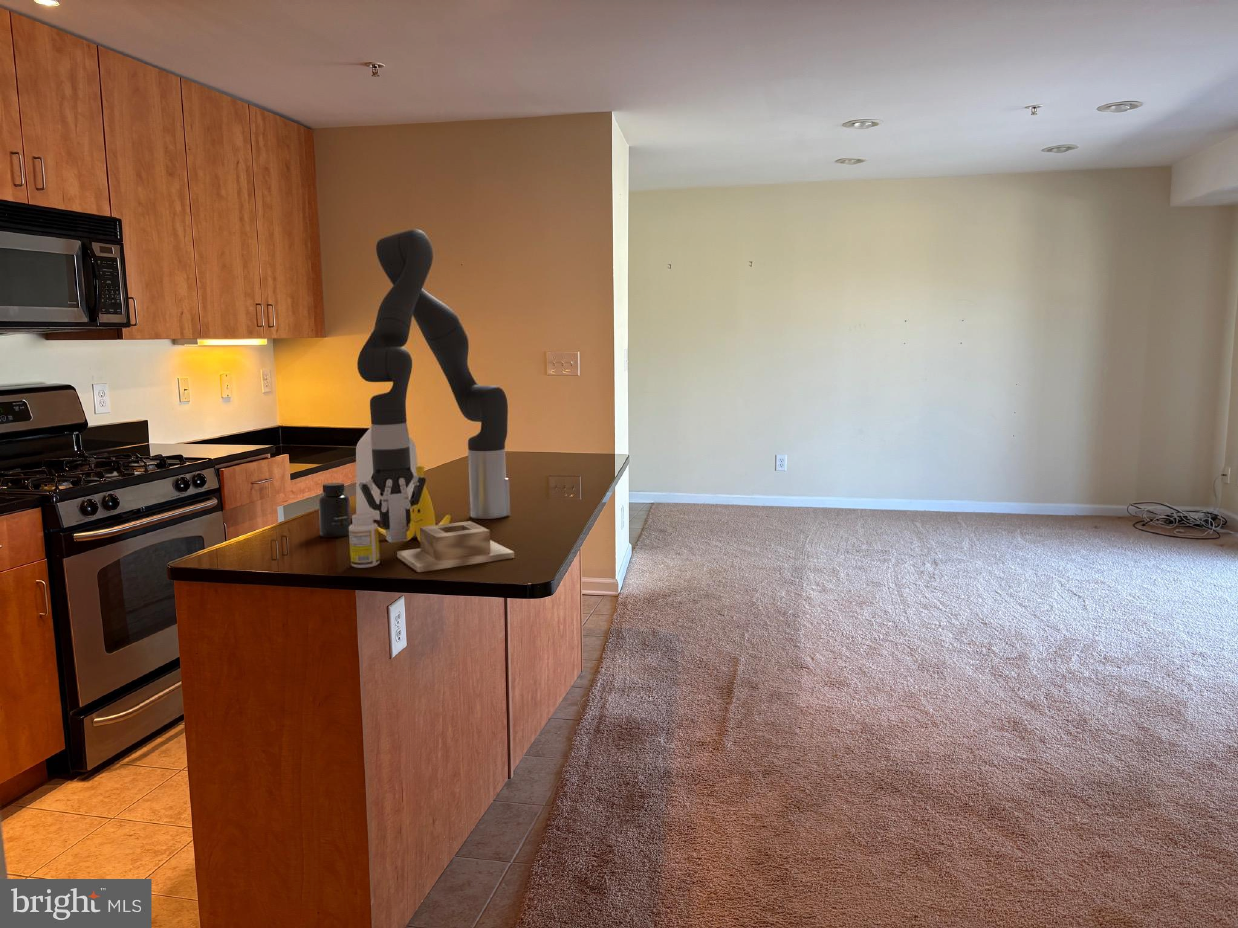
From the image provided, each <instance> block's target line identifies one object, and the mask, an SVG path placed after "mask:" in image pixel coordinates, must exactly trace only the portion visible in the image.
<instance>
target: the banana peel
mask: <svg viewBox="0 0 1238 928" xmlns="http://www.w3.org/2000/svg"><path fill="white" fill-rule="evenodd" d="M416 472H417V476H421V477H424V476H425V475H424V474H425V466H424V465H418V466H417V467H416ZM424 478H425V477H424ZM410 513H411V523H410V524H409V529H408V531H407V540H406V541H405V542H408V541H409V540H411V539H412V538H413V537H414V535H416V537H417V541H418V542H419V543H420V527H426V526H434V525H436V517H435V515H436V514H435V511H434V507H433V503H432V499H431V497H430V494H429V492H428V489H427V487H426V484H425V485H424V488H423V491H422V495H421V498H420V501H419V504H418V505H414V506H412V507H411V511H410ZM451 518H452V516H451V515H450V514H447V515H445V516H444V517H443V519H442V520H441V521H440V522H439V523H438V524H437V525H443V524H450V521H451ZM378 533H380V534H382V535H383V536H385V537H386V530H385V529H384V528H381V527H379V526H378Z"/></svg>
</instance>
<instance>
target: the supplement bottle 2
mask: <svg viewBox="0 0 1238 928" xmlns="http://www.w3.org/2000/svg"><path fill="white" fill-rule="evenodd" d="M351 521H352V523H351V525H350V526H349V535H348V537H349V539H348V540H349V553H350V554H349V555H350V565H351V566H352V567H354V568H357V569H365V568H372V567H376V566H378V564H380V562H381V561H380V560H381V558H380V557H381V554H380V543H379V541H380V539H379V531H378V527H379V525H378V524H377V523H376V522H374V519H373V514H371V513H358V514H356V513H355V514H353V515H352V516H351Z"/></svg>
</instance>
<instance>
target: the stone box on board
mask: <svg viewBox="0 0 1238 928" xmlns="http://www.w3.org/2000/svg"><path fill="white" fill-rule="evenodd" d="M419 543H420V548H413V549H406V550H399V551H398V550H397V552H396V553H397V554H396V555H397V558H398V559H399V560H401V561H402V562H404V563H405V564H406V565H408V566H409V567H410V568H412V569H413V570H415V571H416V572H417V573H423V572H428V571H435V570H437V571H438V570H442V569H449V568H454V567H455V568H456V567H461V566H467V565H475V564H476V565H477V564H482V563H487V562H488V563H489V562H496V561H503V560H508V559H514V558H515V551H513V550H511V549H509V548H507V547H505V546H503V545H501V544H499V543H497V542H495V541H493V540H492V539H491V530H490V529H487V527H484V526H482V525H479V524H477V523H475V522H473V521H471V520H468V521H460V522H459V521H458V522H453V523H449V524H443V525H438V524H435V525H434V526H426V527H420V542H419Z"/></svg>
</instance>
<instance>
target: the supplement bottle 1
mask: <svg viewBox="0 0 1238 928" xmlns="http://www.w3.org/2000/svg"><path fill="white" fill-rule="evenodd" d="M345 491H346V489H345V483H343V482H328V483H323V484H322V490H321V492H322V493H323V495H321V496H320V497H319V499H318V515H319V516H318V518H319V520H318V521H319V534H320V536H321V537H323V538H331V539H332V538H342V537H346V536H349V526H350V525H352V523H351V503H350V501H351V500H350V497H349V496H348V495H347V494H345Z"/></svg>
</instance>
